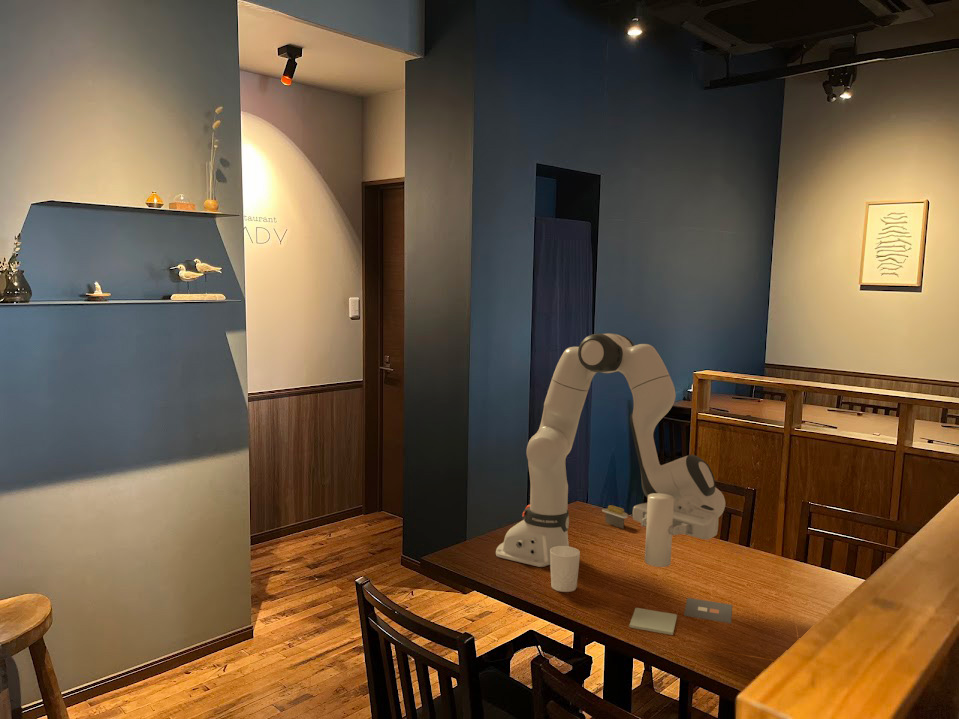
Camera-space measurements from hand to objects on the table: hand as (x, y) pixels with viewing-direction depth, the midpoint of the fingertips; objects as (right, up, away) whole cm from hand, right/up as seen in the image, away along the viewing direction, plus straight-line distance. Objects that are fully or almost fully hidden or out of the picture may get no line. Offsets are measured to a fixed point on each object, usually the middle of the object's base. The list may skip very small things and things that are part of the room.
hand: (657, 527), depth 170 cm
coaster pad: (0, -24, +3) cm, 24 cm away
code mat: (+15, -23, +10) cm, 29 cm away
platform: (+4, -17, +74) cm, 76 cm away
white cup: (-19, -22, +23) cm, 37 cm away
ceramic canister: (0, -9, +2) cm, 9 cm away
